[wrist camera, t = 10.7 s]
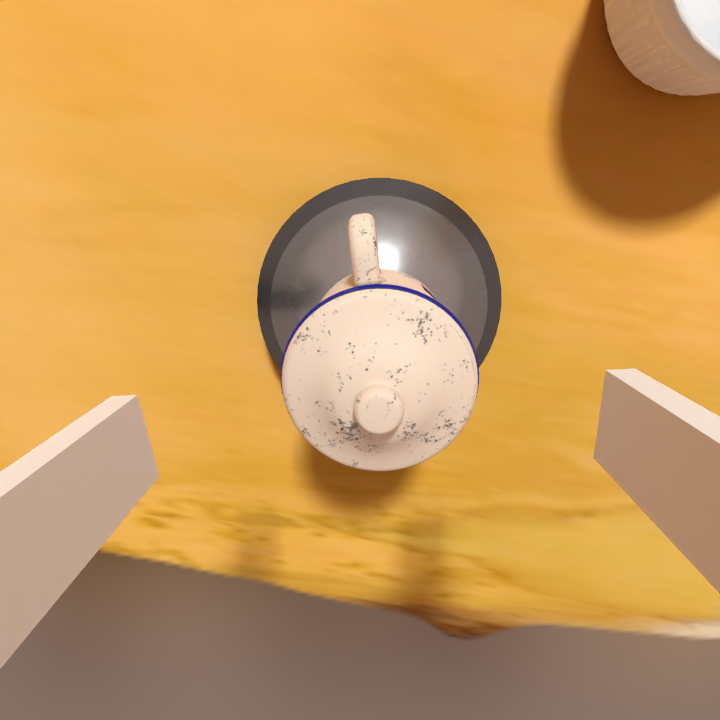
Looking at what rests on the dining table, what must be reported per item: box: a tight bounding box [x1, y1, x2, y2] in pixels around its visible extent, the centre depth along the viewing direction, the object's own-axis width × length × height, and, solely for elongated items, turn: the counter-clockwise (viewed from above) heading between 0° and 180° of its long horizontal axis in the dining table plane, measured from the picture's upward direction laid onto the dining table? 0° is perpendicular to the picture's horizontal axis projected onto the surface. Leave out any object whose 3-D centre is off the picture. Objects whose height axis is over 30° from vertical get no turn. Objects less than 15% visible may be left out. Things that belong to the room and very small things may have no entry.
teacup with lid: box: [281, 213, 479, 471], centre depth 21 cm, size 12×9×12 cm
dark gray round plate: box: [257, 178, 501, 370], centre depth 27 cm, size 16×16×3 cm
